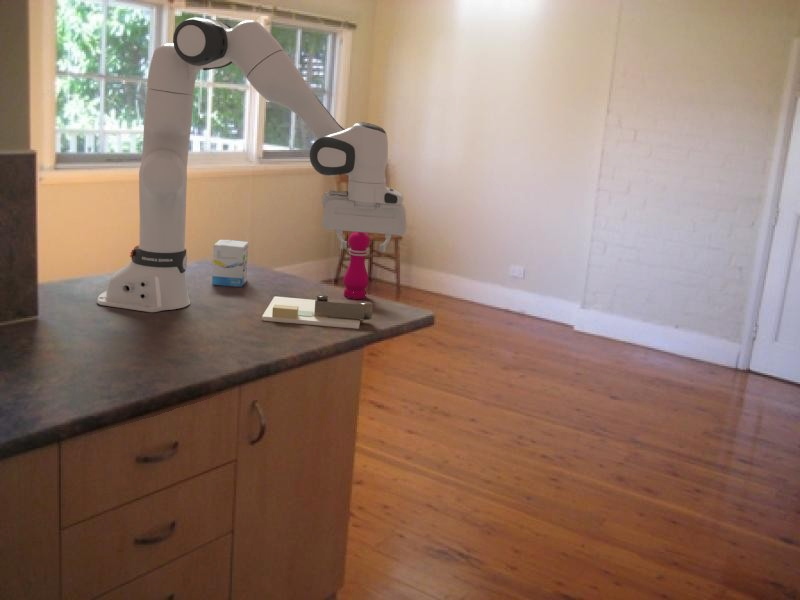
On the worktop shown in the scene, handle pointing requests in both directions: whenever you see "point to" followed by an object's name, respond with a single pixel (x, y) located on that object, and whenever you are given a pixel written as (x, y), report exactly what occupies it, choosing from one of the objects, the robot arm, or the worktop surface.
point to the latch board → (303, 313)
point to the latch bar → (342, 308)
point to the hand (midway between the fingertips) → (362, 250)
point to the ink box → (230, 263)
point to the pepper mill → (357, 267)
